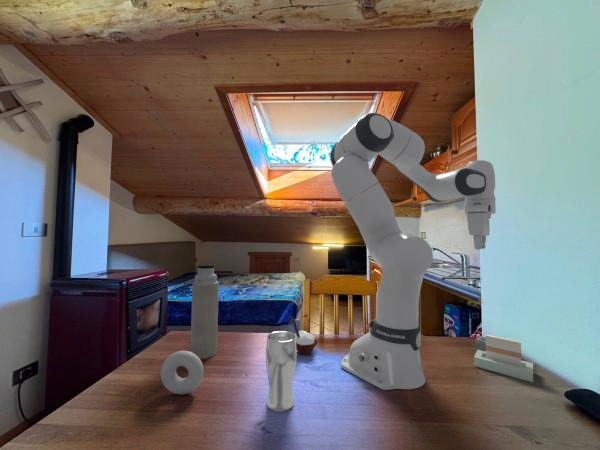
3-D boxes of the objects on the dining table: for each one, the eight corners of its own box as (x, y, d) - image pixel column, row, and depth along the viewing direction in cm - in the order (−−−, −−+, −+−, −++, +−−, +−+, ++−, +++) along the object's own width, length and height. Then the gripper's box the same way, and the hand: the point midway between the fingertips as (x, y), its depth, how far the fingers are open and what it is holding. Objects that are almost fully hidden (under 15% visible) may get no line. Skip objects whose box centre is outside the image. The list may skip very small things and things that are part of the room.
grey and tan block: (475, 357, 86) (475, 340, 86) (478, 351, 91) (478, 334, 91) (519, 369, 79) (518, 350, 79) (519, 361, 84) (519, 343, 84)
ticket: (485, 367, 79) (485, 335, 79) (486, 365, 80) (486, 334, 80) (521, 376, 74) (521, 342, 74) (521, 374, 75) (521, 341, 75)
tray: (474, 369, 79) (473, 357, 79) (477, 361, 84) (477, 349, 84) (533, 386, 70) (533, 372, 70) (533, 375, 75) (532, 363, 75)
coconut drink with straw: (315, 349, 92) (317, 313, 93) (319, 356, 85) (321, 317, 86) (287, 349, 90) (289, 312, 91) (289, 356, 84) (291, 317, 85)
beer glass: (291, 415, 57) (292, 343, 58) (260, 410, 59) (261, 340, 59) (298, 396, 64) (299, 332, 65) (270, 392, 66) (271, 329, 66)
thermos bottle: (205, 346, 92) (208, 262, 93) (222, 351, 88) (224, 264, 88) (184, 354, 85) (187, 264, 86) (201, 361, 81) (204, 266, 82)
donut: (156, 397, 63) (158, 353, 63) (164, 389, 66) (165, 347, 67) (200, 398, 63) (201, 354, 63) (205, 389, 66) (206, 348, 67)
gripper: (473, 211, 104) (474, 247, 103) (463, 206, 88) (463, 249, 88) (494, 210, 100) (494, 248, 99) (487, 205, 84) (487, 250, 84)
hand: (480, 249), depth 93 cm, fingers open, 8 cm apart
